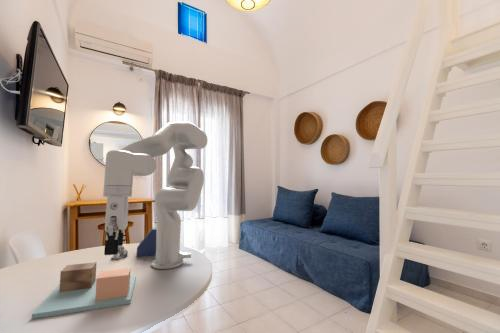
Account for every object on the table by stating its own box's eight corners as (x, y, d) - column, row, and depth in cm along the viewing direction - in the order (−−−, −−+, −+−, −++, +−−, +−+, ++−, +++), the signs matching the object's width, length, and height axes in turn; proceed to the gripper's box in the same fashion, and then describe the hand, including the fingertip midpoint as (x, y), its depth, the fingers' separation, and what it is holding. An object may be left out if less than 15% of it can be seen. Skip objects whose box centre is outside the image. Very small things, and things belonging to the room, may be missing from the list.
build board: (135, 278, 83) (135, 274, 83) (130, 303, 66) (130, 299, 66) (59, 287, 75) (59, 283, 75) (31, 319, 58) (31, 314, 58)
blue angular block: (140, 249, 116) (141, 224, 117) (166, 247, 120) (167, 224, 120) (136, 257, 105) (137, 230, 105) (165, 255, 108) (166, 228, 109)
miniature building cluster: (128, 261, 100) (129, 243, 100) (108, 261, 99) (108, 243, 100) (138, 254, 109) (139, 238, 109) (119, 254, 108) (119, 238, 109)
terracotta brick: (129, 287, 73) (130, 268, 74) (127, 296, 68) (128, 274, 68) (99, 291, 70) (100, 271, 71) (95, 300, 65) (96, 278, 65)
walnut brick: (95, 280, 78) (96, 262, 78) (91, 288, 72) (92, 268, 73) (66, 284, 75) (67, 265, 75) (59, 292, 70) (60, 271, 70)
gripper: (128, 193, 64) (124, 257, 63) (134, 190, 80) (131, 242, 79) (96, 192, 61) (91, 260, 60) (109, 190, 77) (105, 243, 76)
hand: (114, 249), depth 69 cm, fingers open, 9 cm apart
